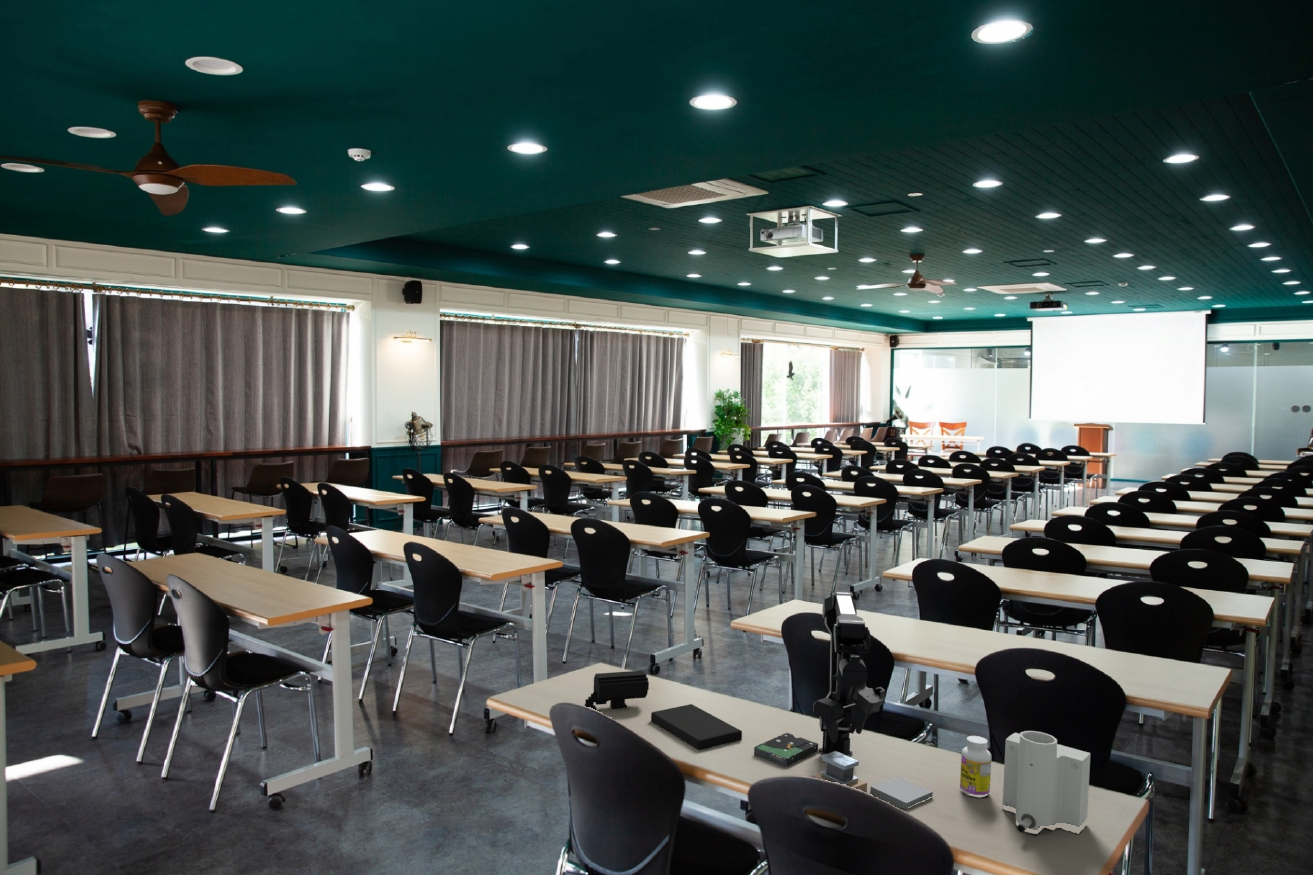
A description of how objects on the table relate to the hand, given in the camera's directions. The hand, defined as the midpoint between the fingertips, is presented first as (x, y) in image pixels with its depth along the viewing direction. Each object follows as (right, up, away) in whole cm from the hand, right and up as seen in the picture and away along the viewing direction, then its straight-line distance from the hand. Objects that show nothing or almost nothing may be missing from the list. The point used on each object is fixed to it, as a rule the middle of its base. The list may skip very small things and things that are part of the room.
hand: (846, 737), depth 202 cm
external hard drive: (-34, -10, +33) cm, 49 cm away
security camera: (-57, -9, +49) cm, 76 cm away
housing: (-2, -10, +1) cm, 10 cm away
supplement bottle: (+30, -13, 0) cm, 33 cm away
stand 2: (+12, -13, -3) cm, 18 cm away
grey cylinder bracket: (+38, -14, -16) cm, 43 cm away
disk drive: (-11, -12, +20) cm, 26 cm away
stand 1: (-2, -12, +1) cm, 12 cm away
